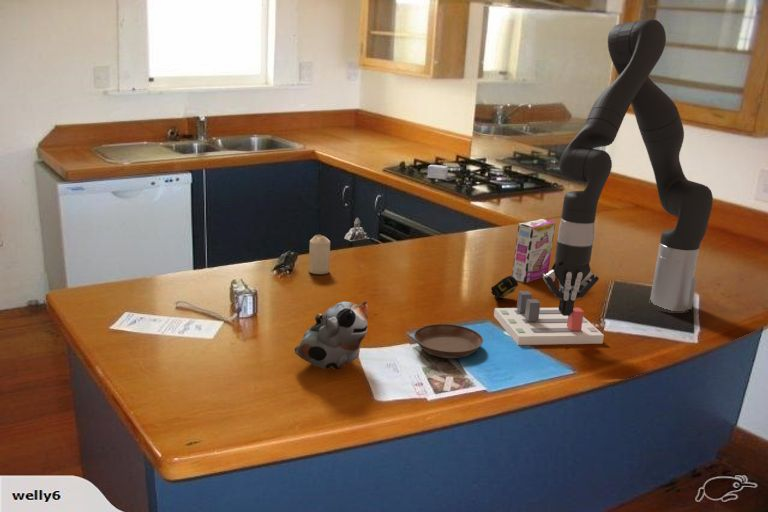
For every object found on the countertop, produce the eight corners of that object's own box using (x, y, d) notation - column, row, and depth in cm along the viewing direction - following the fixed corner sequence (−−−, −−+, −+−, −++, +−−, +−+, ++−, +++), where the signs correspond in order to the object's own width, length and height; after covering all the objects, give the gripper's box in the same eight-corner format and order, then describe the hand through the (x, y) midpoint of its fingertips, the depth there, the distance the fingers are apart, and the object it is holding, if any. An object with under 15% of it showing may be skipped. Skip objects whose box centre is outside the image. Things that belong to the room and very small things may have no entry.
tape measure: (499, 303, 194) (491, 290, 195) (521, 288, 194) (513, 276, 195) (496, 300, 188) (488, 287, 189) (519, 285, 187) (511, 272, 188)
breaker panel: (572, 315, 186) (575, 288, 184) (602, 343, 170) (607, 314, 168) (493, 315, 182) (496, 288, 180) (517, 344, 166) (521, 315, 164)
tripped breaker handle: (576, 326, 172) (579, 307, 171) (581, 330, 170) (583, 311, 169) (566, 326, 172) (569, 307, 170) (571, 330, 170) (573, 311, 168)
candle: (332, 273, 206) (334, 237, 203) (314, 275, 203) (315, 239, 200) (323, 267, 210) (324, 232, 207) (305, 269, 207) (306, 234, 204)
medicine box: (446, 186, 327) (448, 166, 324) (444, 188, 323) (446, 167, 320) (428, 184, 329) (430, 164, 326) (426, 185, 325) (428, 165, 322)
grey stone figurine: (359, 234, 246) (360, 211, 243) (374, 241, 239) (375, 218, 237) (335, 237, 241) (336, 214, 238) (349, 244, 234) (351, 220, 232)
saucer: (412, 360, 156) (413, 348, 155) (413, 332, 170) (414, 321, 169) (484, 365, 156) (485, 353, 155) (479, 337, 170) (480, 326, 169)
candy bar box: (525, 286, 205) (532, 227, 200) (510, 281, 208) (517, 223, 204) (549, 278, 213) (556, 221, 208) (534, 273, 216) (541, 217, 211)
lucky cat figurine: (329, 334, 164) (344, 277, 159) (373, 361, 158) (389, 303, 153) (283, 354, 152) (297, 294, 146) (328, 384, 146) (345, 322, 141)
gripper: (596, 235, 169) (585, 308, 174) (539, 235, 166) (530, 308, 172) (611, 245, 162) (600, 320, 167) (553, 244, 159) (543, 321, 164)
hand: (565, 314), depth 169 cm, fingers closed
